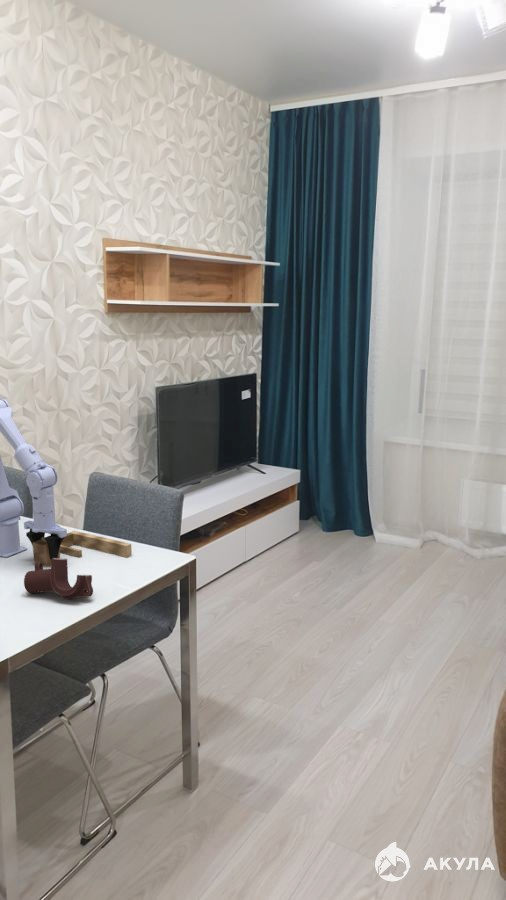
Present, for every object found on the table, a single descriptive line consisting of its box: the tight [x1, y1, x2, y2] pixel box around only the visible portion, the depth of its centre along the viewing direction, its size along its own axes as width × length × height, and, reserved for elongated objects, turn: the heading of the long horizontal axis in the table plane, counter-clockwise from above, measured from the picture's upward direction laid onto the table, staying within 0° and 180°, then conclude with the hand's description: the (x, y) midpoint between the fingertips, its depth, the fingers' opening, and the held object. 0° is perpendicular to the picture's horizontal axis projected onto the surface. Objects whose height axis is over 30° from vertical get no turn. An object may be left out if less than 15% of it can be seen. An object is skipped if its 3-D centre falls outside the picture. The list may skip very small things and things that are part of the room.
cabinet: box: [32, 536, 61, 567], centre depth 200 cm, size 5×5×7 cm
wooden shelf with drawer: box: [60, 530, 133, 559], centre depth 207 cm, size 22×9×4 cm, turn 60°
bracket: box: [23, 557, 94, 599], centre depth 178 cm, size 6×17×10 cm, turn 77°
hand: (46, 557), depth 201 cm, fingers closed on cabinet, 5 cm apart
